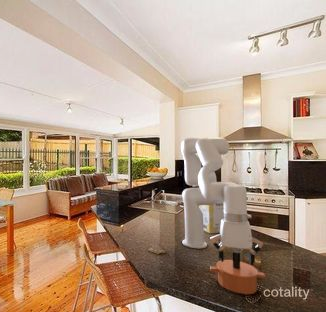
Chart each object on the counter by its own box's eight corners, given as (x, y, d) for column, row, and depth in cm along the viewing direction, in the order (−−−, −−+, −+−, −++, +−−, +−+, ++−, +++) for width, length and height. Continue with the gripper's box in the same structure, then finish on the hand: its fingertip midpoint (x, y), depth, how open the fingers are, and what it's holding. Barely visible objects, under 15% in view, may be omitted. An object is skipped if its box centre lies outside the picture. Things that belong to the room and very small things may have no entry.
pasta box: (209, 233, 148) (208, 189, 148) (199, 228, 158) (198, 187, 159) (235, 231, 150) (234, 188, 151) (224, 226, 161) (223, 186, 161)
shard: (158, 246, 129) (158, 242, 129) (171, 249, 123) (171, 246, 123) (147, 251, 121) (147, 248, 121) (161, 256, 116) (161, 252, 116)
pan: (208, 274, 97) (208, 258, 97) (259, 281, 91) (258, 264, 91) (213, 290, 85) (212, 272, 85) (271, 299, 79) (270, 280, 79)
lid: (214, 260, 97) (213, 243, 97) (251, 265, 92) (251, 247, 92) (219, 276, 84) (219, 256, 84) (263, 282, 80) (263, 261, 80)
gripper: (258, 216, 89) (259, 260, 89) (208, 213, 95) (209, 255, 95) (265, 221, 82) (267, 270, 82) (211, 218, 88) (212, 263, 88)
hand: (236, 262), depth 88 cm, fingers open, 9 cm apart
